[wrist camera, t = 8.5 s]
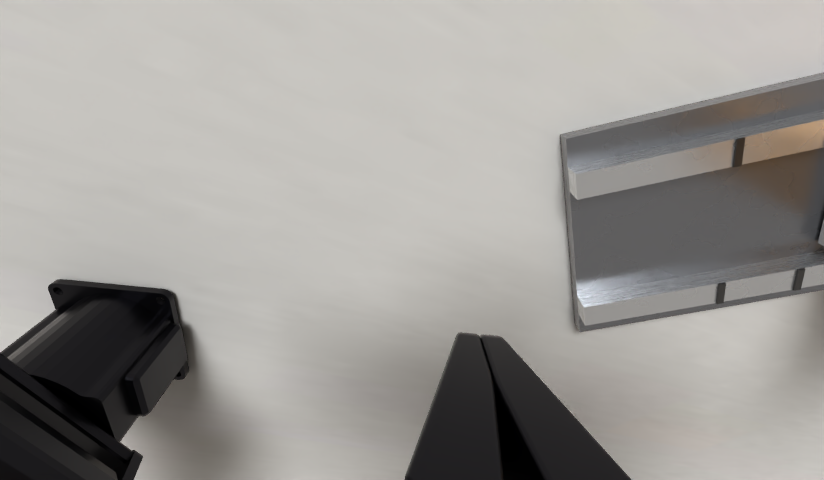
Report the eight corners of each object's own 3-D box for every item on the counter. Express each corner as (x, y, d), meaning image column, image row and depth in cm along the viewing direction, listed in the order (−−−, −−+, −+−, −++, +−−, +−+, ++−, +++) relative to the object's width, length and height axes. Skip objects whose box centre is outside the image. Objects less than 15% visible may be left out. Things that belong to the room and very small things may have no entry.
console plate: (574, 322, 23) (596, 363, 20) (560, 134, 18) (586, 154, 15) (975, 252, 21) (1065, 288, 18) (1085, 11, 16) (1231, 7, 13)
